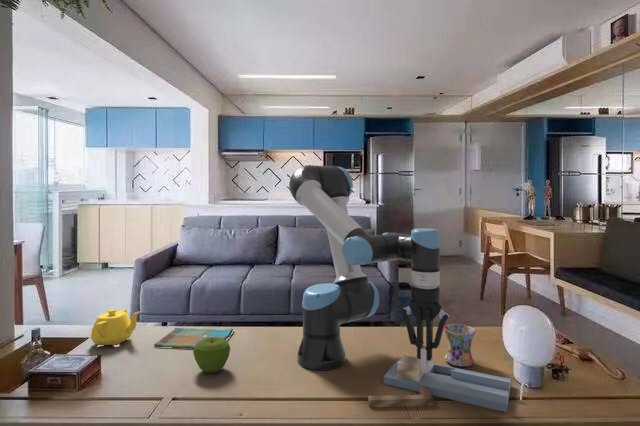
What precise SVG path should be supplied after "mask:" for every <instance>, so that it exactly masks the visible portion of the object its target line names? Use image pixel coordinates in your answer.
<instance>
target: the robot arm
mask: <svg viewBox="0 0 640 426" xmlns="http://www.w3.org/2000/svg"><path fill="white" fill-rule="evenodd" d="M353 183H354V182H353V178H352V176H351V175H350V173H349V171H348V170H347V169H346V168H344V167H341V166H336V165H311V164H310V165H308V164H307V165H303V166H300V167H299V168H297V169H295V170H294V172H293V173H292V174H291V176H290V179H289V187H288V188H289V192H290V195H291V196H292V198H293V199H294V200H295V202H297V204H299V205H300V206H302V207H305V208H306V209H308V211H309V212H310V213H311V214H312V215H313V216H314V217H315V218H316V219H317V220H318V221H319V222H320V223H321V224H322V225H323V226H324V228H325V229H326V234H327V238H328V241H329V246H330V247H329V248H330V252H331V256H332V261H333V266H334V270H335V279H334V281H333V283H330V282H325V283H317V284H314V285H311V286H309V287H307V288H306V289H305V290H304V292H303V294H302V303H301V305H302V338H301V341H300V344H299V348H298V351H297V364H299V365H300V366H301V367H303V368H306V369H308V370H313V371H328V370H333V369H339V368H340V367H341V366H343V365H345V363H346V350H345V348H344V344H343V342H342V339H341V325H342V324H347V323H350V322H354V321H359V320H360V321H361V320H365V319H366V318H369V317H371V316H373V315H374V314H375V313H376V312H377V309H378V308H379V304H380V293H379V289H378V288H377V286H375V284H374V283H373V282H371V281H369V279H368V276H367V274H365V273H364V272H363V271H362V267H361V266H364V265H369V264H375V263H382V262H390V261H397V260H398V261H403V262H404V261H406V262H410V284H411V286H410V302H409V304H408V306H404V307H403V308H402V309H401V310H400V311H401V312H400V313H401V314H402V316H403V318H404V321H405V325H406V329H407V334H408V338H409V343H410V345H414V346H415V347H416V357H417V358H418V359H421V373H427V371H428V363H429V362H431V361H432V359H433V350H434V349H438V347H440V346H439V345H440V344H441V339H442V336H443V332H444V327H445V326H446V321H448V319H449V317H450V312H445V311H444V310H443V309H442V305H441V304H440V298H441V296H440V287H439V286H440V285H441V283H440V282H441V281H440V279H441V276H440V275H441V274H440V273H441V271H440V268H441V267H440V262H441V261H440V260H441V258H440V257H441V237H440V236H441V235H440V232H439V230H438V229H436V228H426V227H425V228H423V227H422V228H417V227H416V228H413V229H411V233H410V234H406V233H398V232H394V231H393V232H384V233H382V234H376V235H375V234H374V235H371V234H369V233H368V232H367V231H366V230H365V228H364V227H362V226H361V225H360V224H359V223H358V222H357V221H356V220H355V219H353V218H352V217H351V216H350V215H349V210H348V207H347V204H348V202H349V201H350V196H351V194H352V192H353V188H354V184H353ZM412 314H413V315H414V317H416V319H415V322H416V329H415V326H414V325H415V324H414V321H413V318H412V317H413V316H412ZM438 315H439V316H438ZM437 316H438V319H439V320H440V321H439V322H438V326H437V330H436V333H435V337H434V336H433V335H434V333H433V332H434V326H433V325H434V320H435V318H436V317H437ZM424 321H425V322H424ZM424 323H425V330H426V331H425V336H426V337H425V340H426V341H425V343H424ZM415 330H416V331H415ZM424 344H425V345H424Z"/></svg>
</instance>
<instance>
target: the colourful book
mask: <svg viewBox="0 0 640 426" xmlns="http://www.w3.org/2000/svg"><path fill="white" fill-rule="evenodd" d="M232 331H233V332H234V329H233V328H228V329H212V328H191V327H187V328H185V327H182V328H181V327H175V328H174V329H173V330H172V331H170V332H168V334H166V335H165V336H163V337H162V338H161V339H159V341H157V342H155V343H154V345H153V347H154V346H155V347H172V348H192V349H191V350H194V347H195V345H196V343H198V342H199V341H201V340H202V339H204V338H208V337H220V338H223V339H224V340H226V339H227V338H228V337H229V336H230V335H231V333H232ZM187 334H188V335H187ZM204 335H207V337H203V336H204Z"/></svg>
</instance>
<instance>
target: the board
mask: <svg viewBox="0 0 640 426" xmlns="http://www.w3.org/2000/svg"><path fill="white" fill-rule="evenodd" d="M402 357H403V356H399V358H398V359H397V360H396V361H395V362H394V364H393V365H392V366H391V367H390V368H389V369H388V371H386V373H385V375H384V376H383V384H384V385H388V386H393V387H396V388H401V389H405V390H410V391H414V392H418V393H419V387H427V389H428V390H429V392H430V394H431V395H432V396H435V397H439V398H440V397H441V398H444V399H448V400H452V401H457V402H459V403H464V404H469V405H473V406H477V407H481V408H486V409H490V410H494V411H499V412H502V411H504V412H503V413H506V412H507V413H508V406H509V401H510V393H511V387H512V378H508V377H504V376H503V377H502V376H497V375H492V374H488V373H482V372H478V371H472V370H466V369H462V368H458V367H452V366H447V365H443V364H438V363H437V364H436V363H431V362H428V371H427V373H424V375H423V376H422V378H421V379H420V381H419V382H418V381H413V380H409V379H404V378H400V377H397V363H398V361H399V360H400V359H401V358H402ZM434 372H437V373H434ZM438 373H440V374H438ZM441 373H442V374H441ZM443 374H447V375H443ZM448 375H450V376H448Z"/></svg>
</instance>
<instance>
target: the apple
mask: <svg viewBox="0 0 640 426" xmlns="http://www.w3.org/2000/svg"><path fill="white" fill-rule="evenodd" d="M192 354H193V357H194V360H195V362H196V364H197V366H198V368H199V369H200V370H201V371H202V372H205V373H208V374H213V373H218V372H220V371H221V370H222V369H224V367H225V366H226V363H227V361H228V359H229V357H230V354H231V346H230V344H229V341H226V340H224V339H223V338H220V337H208V338H204V339H202V340H201V341H199V342H198V343H196V345H195V347H194V349H192Z"/></svg>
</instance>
